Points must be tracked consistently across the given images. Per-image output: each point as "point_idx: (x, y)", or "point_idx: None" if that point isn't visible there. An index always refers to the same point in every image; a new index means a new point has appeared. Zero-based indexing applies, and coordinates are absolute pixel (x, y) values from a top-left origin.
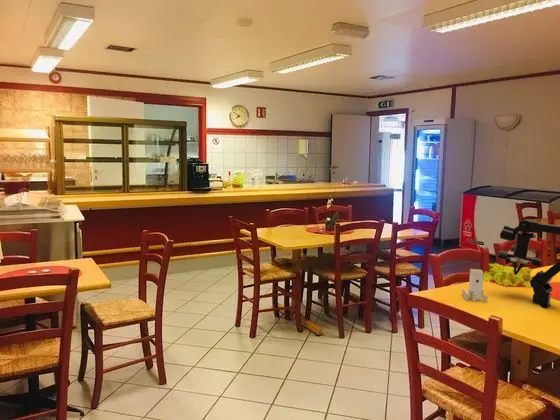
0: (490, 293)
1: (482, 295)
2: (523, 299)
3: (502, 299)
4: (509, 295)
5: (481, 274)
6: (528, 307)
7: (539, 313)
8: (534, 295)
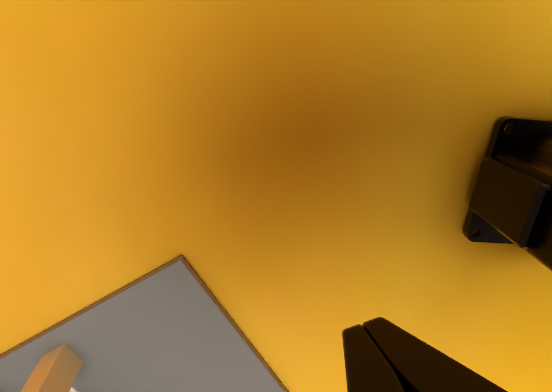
0: (37, 132)
1: (72, 381)
2: (377, 108)
3: (216, 253)
4: (222, 56)
5: None
6: (439, 311)
7: (511, 380)
8: (529, 253)
